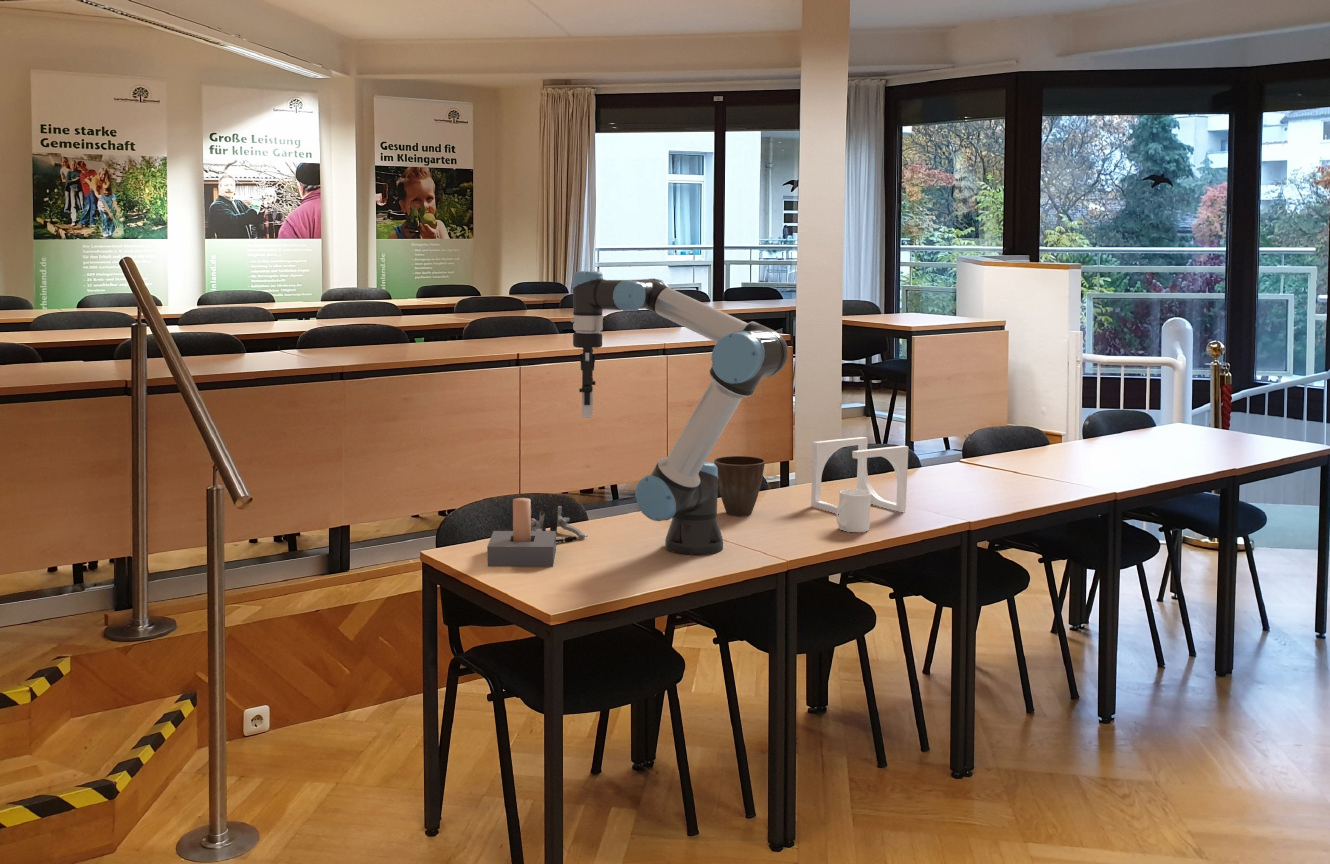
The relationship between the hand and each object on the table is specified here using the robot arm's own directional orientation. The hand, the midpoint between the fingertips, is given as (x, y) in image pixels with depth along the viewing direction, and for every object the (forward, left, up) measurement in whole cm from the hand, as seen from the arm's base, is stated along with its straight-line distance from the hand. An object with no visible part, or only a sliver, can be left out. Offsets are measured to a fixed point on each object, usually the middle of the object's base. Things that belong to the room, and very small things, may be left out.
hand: (587, 413), depth 307 cm
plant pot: (-44, -36, -35) cm, 67 cm away
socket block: (+16, +14, -35) cm, 41 cm away
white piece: (-81, -42, -35) cm, 98 cm away
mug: (-73, -15, -35) cm, 82 cm away
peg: (+16, +14, -35) cm, 41 cm away
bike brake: (+8, -6, -35) cm, 37 cm away
